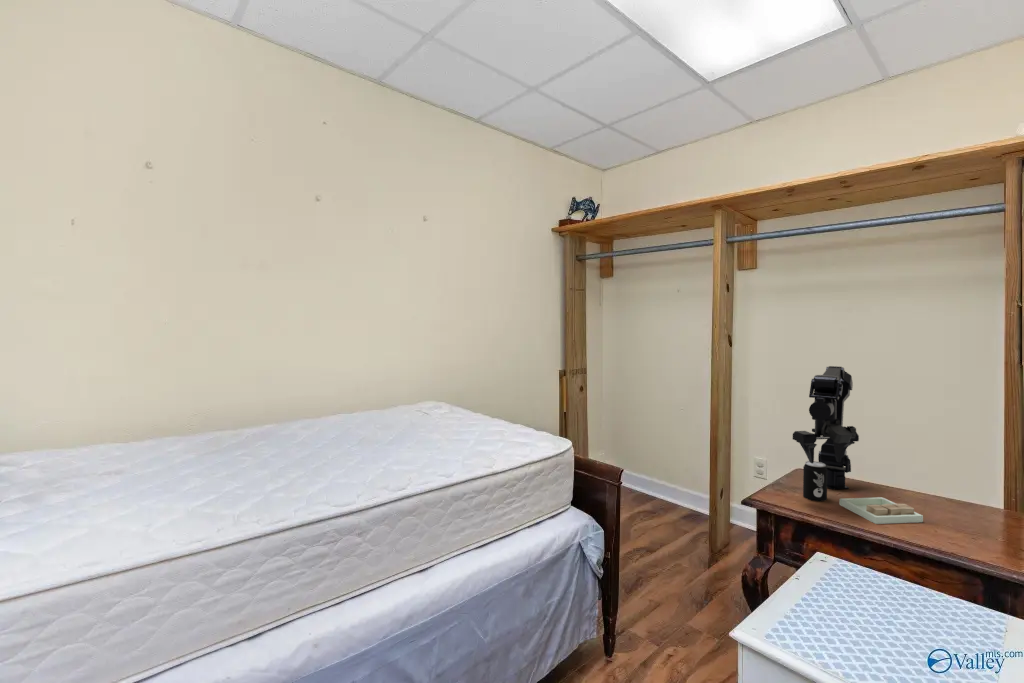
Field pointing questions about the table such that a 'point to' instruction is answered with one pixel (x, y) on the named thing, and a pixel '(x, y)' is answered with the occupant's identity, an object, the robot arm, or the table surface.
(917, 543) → the table surface
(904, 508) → the maple cube
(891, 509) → the maple cube
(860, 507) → the tray
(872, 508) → the maple cube
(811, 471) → the beverage can
